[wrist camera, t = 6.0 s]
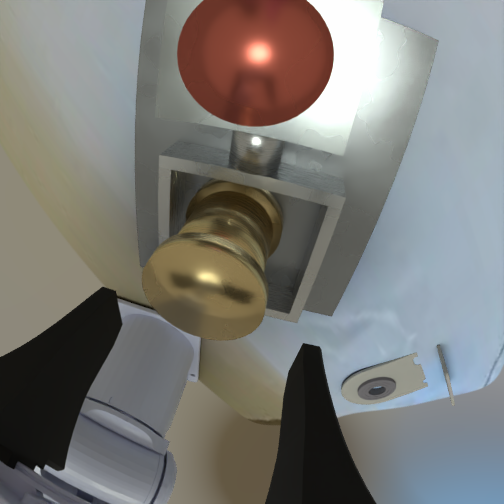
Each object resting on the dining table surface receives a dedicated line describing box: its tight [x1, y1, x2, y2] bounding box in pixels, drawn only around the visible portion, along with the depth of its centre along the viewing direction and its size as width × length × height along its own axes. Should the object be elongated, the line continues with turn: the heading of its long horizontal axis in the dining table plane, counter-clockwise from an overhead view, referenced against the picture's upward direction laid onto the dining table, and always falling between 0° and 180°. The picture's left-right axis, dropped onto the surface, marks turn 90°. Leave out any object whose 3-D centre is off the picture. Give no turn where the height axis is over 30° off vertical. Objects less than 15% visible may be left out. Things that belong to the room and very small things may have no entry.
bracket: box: [341, 345, 455, 406], centre depth 23 cm, size 7×10×4 cm, turn 125°
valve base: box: [135, 0, 438, 323], centre depth 13 cm, size 18×13×7 cm
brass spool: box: [142, 179, 283, 340], centre depth 14 cm, size 5×5×6 cm
